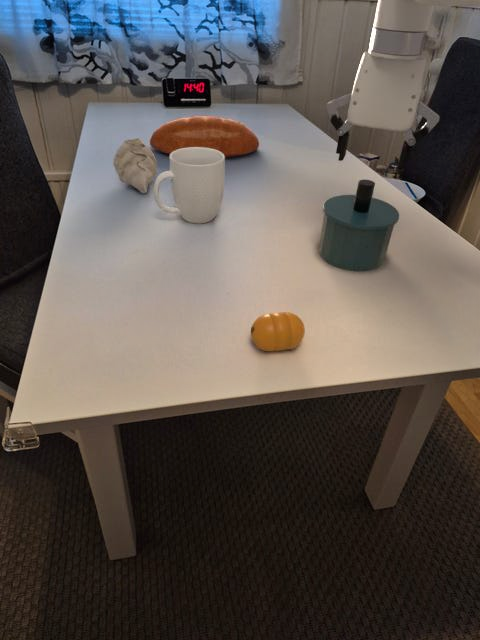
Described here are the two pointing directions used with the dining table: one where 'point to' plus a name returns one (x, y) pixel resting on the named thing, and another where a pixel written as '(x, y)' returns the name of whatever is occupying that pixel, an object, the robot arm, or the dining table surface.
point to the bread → (205, 135)
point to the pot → (353, 246)
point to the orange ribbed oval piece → (277, 331)
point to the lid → (361, 209)
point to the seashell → (135, 164)
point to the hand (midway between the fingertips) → (370, 162)
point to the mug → (194, 183)
